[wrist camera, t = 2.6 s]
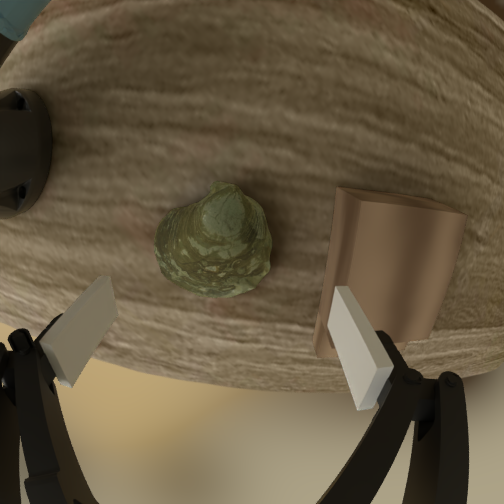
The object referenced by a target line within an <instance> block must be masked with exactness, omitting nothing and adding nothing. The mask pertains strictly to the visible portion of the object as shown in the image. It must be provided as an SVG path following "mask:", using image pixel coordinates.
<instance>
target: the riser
mask: <svg viewBox="0 0 504 504" xmlns="http://www.w3.org/2000/svg"><path fill="white" fill-rule="evenodd" d="M467 217H468V215H466V214H464V213H462V212H460V211H458V210H455V209H453V208H451V207H449V206H446V205H444V204H442V203H440V202H437V201H435V200H432V199H428V198H422V197H415V196H409V195H402V194H395V193H387V192H380V191H372V190H363V189H354V188H344V187H336V195H335V204H334V213H333V221H332V229H331V236H330V243H329V250H328V257H327V264H326V270H325V276H324V282H323V288H322V293H321V299H320V304H319V310H318V315H317V320H316V325H315V330H314V335H313V339H312V341H313V344H314V348H315V351H316V355H317V358H325V357H339V356H338V353H337V351H336V348H335V345H334V342H333V340H332V337H331V334H330V331H329V329H328V326H327V324H328V320H329V315H330V311H331V306H332V301H333V296H334V291H335V286H348V287H349V289H350V290H351V292H352V294H353V295H354V297H355V299H356V300H357V302H358V304H359V305H360V307H361V309H362V310H363V312H364V314H365V315H366V317H367V319H368V320H369V322H370V324H371V326H372V327H373V329H374V331H378V330H383V331H384V332H385V333H387V334H388V335H389V336H390V337H391V339H392V341H393V342H394V344H395V346H396V347H397V350H398V351H400V350H405V348H406V345H407V343H408V342H409V341H416V340H423V339H428V338H429V336H430V333H431V331H432V329H433V327H434V324H435V322H436V319H437V317H438V314H439V312H440V309H441V307H442V304H443V301H444V299H445V296H446V293H447V290H448V287H449V284H450V281H451V278H452V275H453V272H454V268H455V265H456V262H457V258H458V255H459V251H460V247H461V243H462V239H463V235H464V231H465V226H466V221H467Z"/></svg>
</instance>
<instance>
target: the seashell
mask: <svg viewBox="0 0 504 504" xmlns="http://www.w3.org/2000/svg"><path fill="white" fill-rule="evenodd" d="M210 191H211V192H210V193H209V194H208V195H207V196H206V197H205V198H203V199H202V200H201V201H200V202H198V203H194V204H192V205H190V206H188V207H180V208H175V209H172V210H171V211H170V212H169V213H168V214H167V215H166V216H165V217H164V218H163V219H162V220H161V222H160V223H159V225H158V227H157V229H156V233H155V239H154V252H155V255H156V259H157V261H158V264H159V266H160V269H161V272H162V274H163V275H164V276H165V277H166V278H167V279H168V280H170V281H171V282H173V283H175V284H176V285H178V286H179V287H181V288H183V289H185V290H187V291H189V292H192V293H194V294H196V295H198V296H203V297H211V298H218V297H227V298H230V297H233V296H235V295H238V294H240V293H246V292H247V291H249V290H251V289H254V288H256V286H257V284H258V283H260V281H261V279H262V278H263V277H264V276H265V275H267V273H268V272H269V270H270V260H269V259H270V253H271V248H272V244H273V242H272V238H271V234H270V231H269V230H268V224H267V221H266V216H265V213H264V211H263V209H262V207H261V206H260V205H259V203H258V202H256V201H255V200H253V199H252V198H250V197H248V196H245V195H244V194H243V193H242V191H241V189H240V188H239V187H238V186H237V185H235V184H229V183H227V182H219V181H215V182H214V183H213V184H212V185H211V186H210Z"/></svg>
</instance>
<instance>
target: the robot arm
mask: <svg viewBox="0 0 504 504" xmlns="http://www.w3.org/2000/svg"><path fill="white" fill-rule="evenodd" d="M50 1H51V0H0V68H1V66H2V65H3V63H4V62H5V60H6V58H7V57H8V56H9V54H10V53H11V51H12V50H13V48H14V47H15V45H16V44H17V43H18V41H21V40H22V39H23V38H24V37H25V36H26V34H27V32H28V30H29V27H30V25H31V24H32V23H33V21H34V20H35V19H36V18H37V16H38V15H39V14H40V13H41V11H42V10H43V9H44V8H45V7H46V6H47V4H48V3H49V2H50ZM51 152H52V133H51V124H50V119H49V115H48V112H47V109H46V107H45V105H44V103H43V101H42V100H41V98H40V97H39V96H38V95H37V94H36V93H34V92H33V91H31V90H27V89H17V88H11V89H6V90H3V91H0V219H8V218H12V217H14V216H16V215H18V214H21V213H23V212H25V211H26V210H28V209H29V208H30V207H31V206H32V205H33V204H34V203H35V202H36V200H37V199H38V197H39V195H40V194H41V192H42V189H43V187H44V185H45V182H46V179H47V175H48V171H49V167H50V161H51ZM117 316H118V311H117V306H116V302H115V297H114V293H113V288H112V283H111V277H110V276H101V275H100V276H99V277H98V278H97V279H96V280H95V281H94V282H93V283H92V284H91V285H90V286H89V287H88V288H87V289H86V290H85V291H84V292H83V293H82V294H81V295H80V296H79V297H78V298H77V299H76V301H75V302H74V303H73V304H72V305H71V306H70V307H69V308H68V309H67V310H66V311H65V312H64V314H63V313H61V314H60V315H58V316H57V317H55V318H54V319H53V320H52V321H51V322H50V324H49V325H48V326H47V327H46V329H44V330H43V331H42V332H41V334H40V335H39V336H38V337H37V338H36V339H35V341H34V342H33V340H32V337H31V335H30V333H29V331H28V330H27V329H24V328H22V329H17V330H15V331H14V332H12V333H11V334H10V335H9V337H8V342H9V343H10V346H11V348H12V350H13V351H7V349H6V347H5V345H4V344H3V343H2V342H0V504H21V496H20V495H21V494H20V478H19V445H20V436H21V442H22V447H23V452H24V456H25V461H26V465H27V469H28V473H29V478H27V479H25V481H24V484H25V489H26V492H27V496H28V499H29V502H30V504H99V503H98V502H97V501H96V499H95V498H94V496H93V495H92V493H91V491H90V488H89V486H88V484H87V482H86V480H85V477H84V475H83V473H82V470H81V468H80V465H79V463H78V460H77V458H76V455H75V452H74V450H73V447H72V444H71V441H70V438H69V435H68V432H67V429H66V425H65V422H64V418H63V415H62V411H61V407H60V403H59V399H58V395H57V390H56V386H55V384H54V382H53V380H54V378H55V377H57V379H58V381H59V382H60V384H62V385H64V386H67V387H70V388H72V387H73V385H74V384H75V382H76V380H77V379H78V377H79V375H80V374H81V372H82V370H83V369H84V367H85V365H86V364H87V362H88V361H89V359H90V357H91V356H92V354H93V353H94V351H95V349H96V348H97V346H98V345H99V343H100V342H101V340H102V339H103V337H104V336H105V334H106V333H107V331H108V329H109V328H110V326H111V325H112V324H113V322H114V321H115V319H116V318H117ZM327 326H328V329H329V331H330V334H331V337H332V340H333V342H334V345H335V348H336V351H337V353H338V356H339V359H340V362H341V364H342V367H343V370H344V373H345V376H346V379H347V382H348V385H349V388H350V390H351V393H352V396H353V399H354V402H355V405H356V408H357V411H359V410H366V409H371V408H373V407H374V405H375V403H376V401H377V402H378V404H379V409H378V411H377V412H376V414H375V416H374V417H373V419H372V422H371V424H370V425H369V427H368V429H367V431H366V432H365V434H364V436H363V437H362V439H361V441H360V442H359V444H358V446H357V447H356V449H355V450H354V452H353V454H352V455H351V457H350V458H349V460H348V461H347V463H346V464H345V466H344V467H343V468H342V470H341V471H340V473H339V474H338V476H337V477H336V478H335V480H334V481H333V482H332V484H331V485H330V486H329V488H328V489H327V490H326V492H325V493H324V494H323V495H322V497H321V498H320V499H319V501H318V502H317V503H316V504H370V503H371V501H372V500H373V498H374V497H375V495H376V493H377V492H378V490H379V488H380V486H381V485H382V483H383V481H384V479H385V477H386V475H387V473H388V472H389V470H390V468H391V466H392V464H393V462H394V460H395V457H396V455H397V453H398V451H399V449H400V447H401V444H402V442H403V440H404V437H405V435H406V433H407V430H408V428H409V425H410V422H411V421H415V425H414V436H413V445H412V453H411V460H410V467H409V473H408V478H407V483H406V488H405V493H404V498H403V503H402V504H467V494H468V479H469V438H468V422H467V411H466V402H465V394H464V387H463V382H462V379H461V378H460V377H459V375H457V374H456V373H453V372H450V371H446V372H443V373H442V374H441V375H440V376H439V378H438V379H426V378H423V376H422V374H421V373H420V372H418V371H417V370H415V369H411V368H408V366H407V364H406V362H405V361H404V359H403V357H402V356H401V354H400V352H399V351H398V350H397V347H396V346H395V344H394V342H393V341H392V339H391V337H390V336H389V335H388V334H387V333H385V332H384V331H383V330H378V331H374V329H373V327H372V326H371V324H370V322H369V320H368V319H367V317H366V315H365V314H364V312H363V310H362V309H361V307H360V305H359V304H358V302H357V300H356V299H355V297H354V295H353V294H352V292H351V290H350V289H349V287H348V286H335V291H334V296H333V301H332V306H331V311H330V315H329V320H328V324H327ZM2 382H3V384H4V385H3V387H2Z"/></svg>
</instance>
